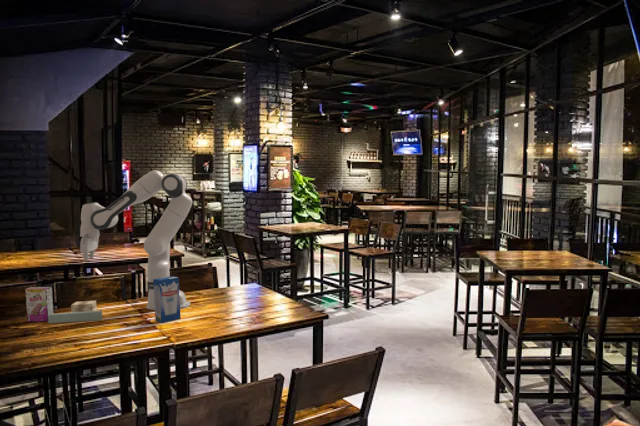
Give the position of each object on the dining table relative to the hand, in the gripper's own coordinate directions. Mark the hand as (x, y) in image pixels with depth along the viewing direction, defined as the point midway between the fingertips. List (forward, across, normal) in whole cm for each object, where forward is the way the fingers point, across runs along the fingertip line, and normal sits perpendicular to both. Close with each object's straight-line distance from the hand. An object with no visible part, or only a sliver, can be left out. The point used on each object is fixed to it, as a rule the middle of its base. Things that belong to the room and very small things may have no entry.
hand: (88, 259), depth 282 cm
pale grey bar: (+27, -22, -1) cm, 35 cm away
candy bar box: (+29, -17, +17) cm, 37 cm away
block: (+27, -8, -1) cm, 28 cm away
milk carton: (+24, -33, -46) cm, 61 cm away
